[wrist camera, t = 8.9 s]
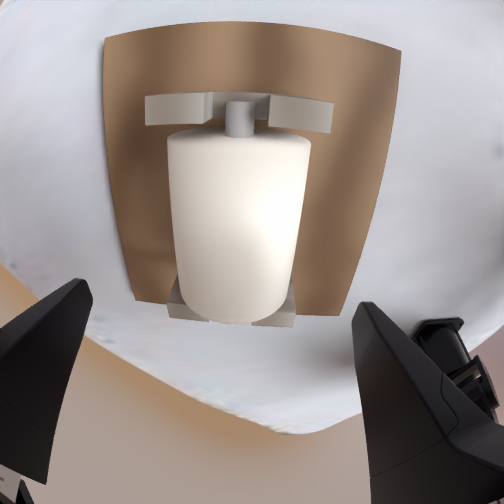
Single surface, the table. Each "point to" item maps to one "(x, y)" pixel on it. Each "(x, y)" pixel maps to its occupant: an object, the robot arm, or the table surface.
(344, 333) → the table surface
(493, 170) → the table surface
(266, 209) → the paper roll
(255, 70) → the roll cradle
